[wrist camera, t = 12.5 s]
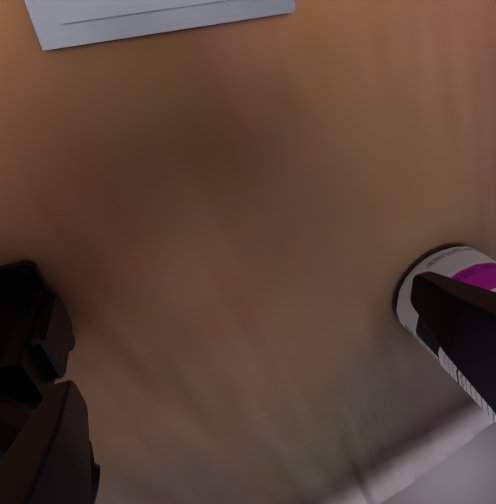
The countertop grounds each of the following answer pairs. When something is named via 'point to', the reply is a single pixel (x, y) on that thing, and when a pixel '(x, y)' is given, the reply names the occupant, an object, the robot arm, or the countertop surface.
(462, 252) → the supplement can
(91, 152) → the countertop surface
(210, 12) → the kitchen sink with drainboard
